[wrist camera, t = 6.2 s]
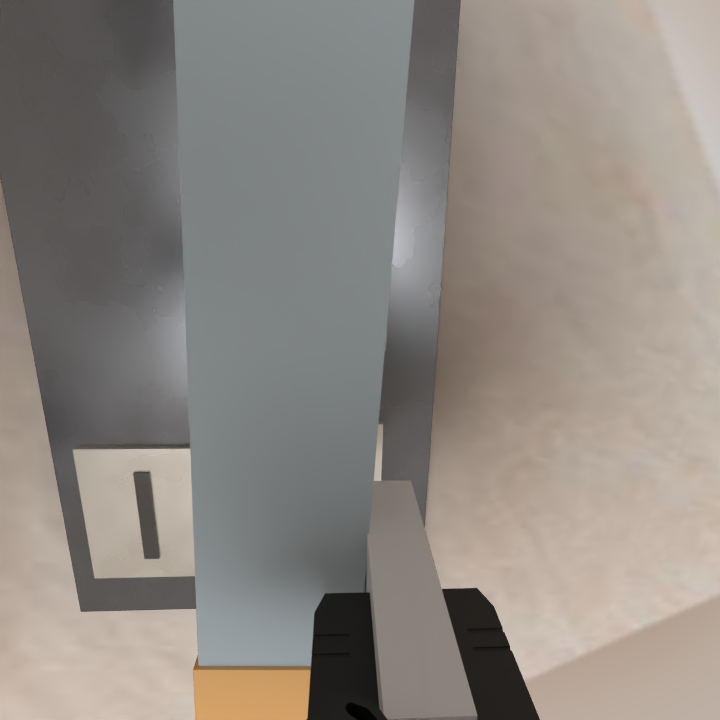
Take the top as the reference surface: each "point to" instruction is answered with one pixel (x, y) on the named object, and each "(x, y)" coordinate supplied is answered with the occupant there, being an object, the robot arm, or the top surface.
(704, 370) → the top surface
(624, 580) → the top surface
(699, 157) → the top surface
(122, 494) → the slotted grey board
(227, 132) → the grey long bar
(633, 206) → the top surface
